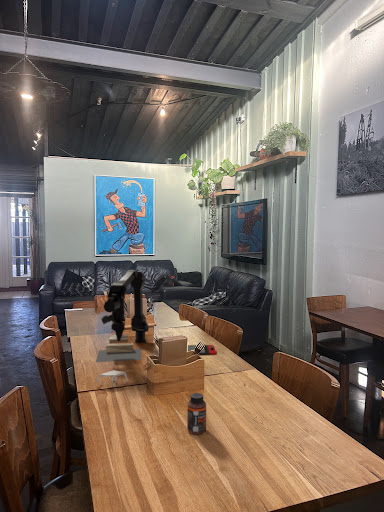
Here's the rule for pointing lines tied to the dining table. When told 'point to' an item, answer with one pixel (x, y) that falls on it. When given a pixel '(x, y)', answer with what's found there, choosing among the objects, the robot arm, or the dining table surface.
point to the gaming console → (206, 351)
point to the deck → (123, 339)
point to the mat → (118, 356)
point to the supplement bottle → (196, 414)
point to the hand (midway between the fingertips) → (118, 339)
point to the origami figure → (113, 374)
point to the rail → (119, 347)
